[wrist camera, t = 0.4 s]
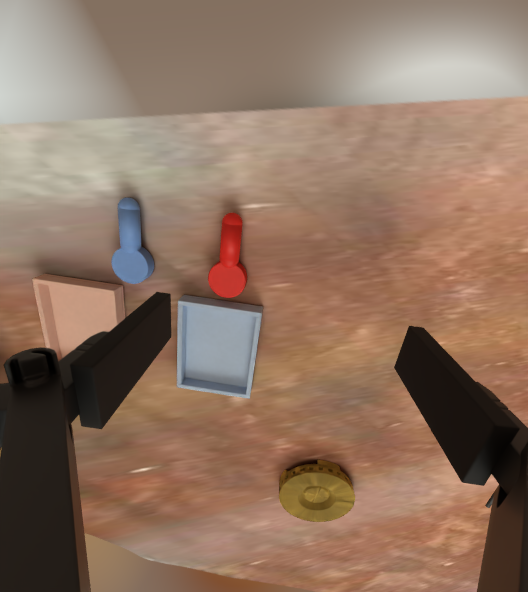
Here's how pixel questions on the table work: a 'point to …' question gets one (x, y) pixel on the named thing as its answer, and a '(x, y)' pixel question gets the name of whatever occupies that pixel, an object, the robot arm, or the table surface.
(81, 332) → the rose tray
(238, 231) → the red spoon
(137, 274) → the blue spoon
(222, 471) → the table surface
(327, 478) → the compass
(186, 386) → the blue tray
